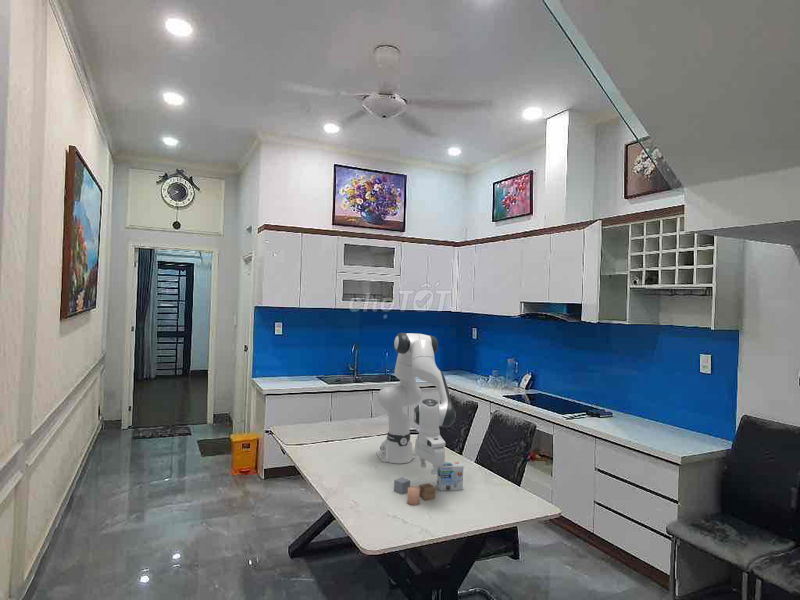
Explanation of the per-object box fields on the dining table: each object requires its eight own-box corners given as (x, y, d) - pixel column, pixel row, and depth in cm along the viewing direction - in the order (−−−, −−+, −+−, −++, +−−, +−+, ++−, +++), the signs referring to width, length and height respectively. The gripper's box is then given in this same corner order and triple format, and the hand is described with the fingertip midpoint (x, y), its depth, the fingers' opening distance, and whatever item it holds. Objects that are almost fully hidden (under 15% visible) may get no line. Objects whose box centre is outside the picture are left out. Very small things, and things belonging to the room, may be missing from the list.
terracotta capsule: (405, 501, 212) (405, 487, 212) (415, 499, 214) (416, 485, 214) (410, 506, 207) (411, 491, 207) (421, 504, 209) (421, 489, 209)
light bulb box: (440, 491, 224) (441, 467, 224) (436, 485, 231) (436, 462, 231) (463, 490, 226) (464, 466, 226) (458, 484, 233) (459, 461, 233)
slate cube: (393, 491, 223) (394, 479, 223) (401, 488, 226) (402, 477, 226) (402, 494, 219) (402, 483, 219) (409, 491, 223) (410, 480, 223)
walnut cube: (418, 496, 218) (419, 484, 218) (429, 494, 220) (429, 483, 220) (424, 500, 213) (424, 488, 213) (434, 499, 215) (435, 487, 215)
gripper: (411, 433, 224) (410, 464, 224) (434, 445, 206) (433, 479, 206) (424, 431, 227) (423, 462, 227) (447, 443, 209) (447, 477, 209)
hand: (428, 470), depth 216 cm, fingers open, 8 cm apart
